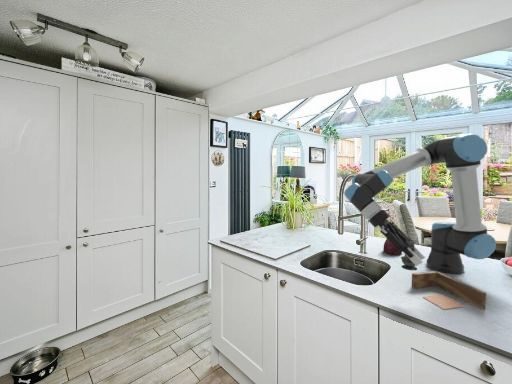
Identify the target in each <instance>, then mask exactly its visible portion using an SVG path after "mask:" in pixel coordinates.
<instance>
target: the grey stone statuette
mask: <svg viewBox="0 0 512 384" xmlns="http://www.w3.org/2000/svg"><path fill="white" fill-rule="evenodd" d="M408 238H409V240H406V246H407V247H409V248H410V249H411V250H412V251H413V252H414V251H415V249H414V246H415V241H414V240H412V238H411V237H408ZM400 259H401V262H402V264H403V265H401V268H402V269H404V270H407V271H417V270H418V268H417V266H416V265H415V264H414V263H413V262H412V261H411V260H410V259H409V258H408V257H407V256H406V255H405V254H404V256H401V257H400Z"/></svg>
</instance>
